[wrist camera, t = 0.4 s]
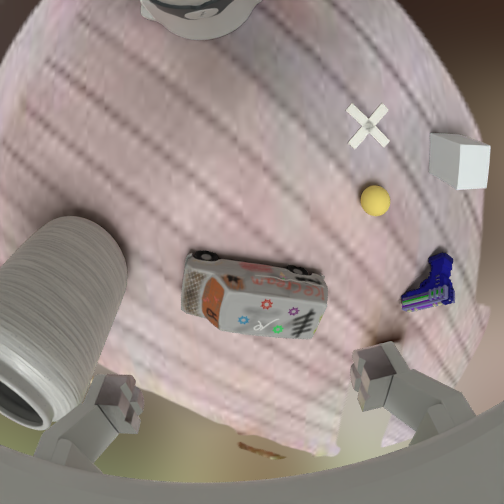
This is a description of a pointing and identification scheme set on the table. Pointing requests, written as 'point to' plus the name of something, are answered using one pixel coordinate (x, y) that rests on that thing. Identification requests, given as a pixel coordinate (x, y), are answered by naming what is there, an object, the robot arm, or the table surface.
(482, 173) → the grey block
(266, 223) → the table surface
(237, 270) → the toy car
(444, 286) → the toy gun
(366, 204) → the ball
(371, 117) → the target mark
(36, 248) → the vase
